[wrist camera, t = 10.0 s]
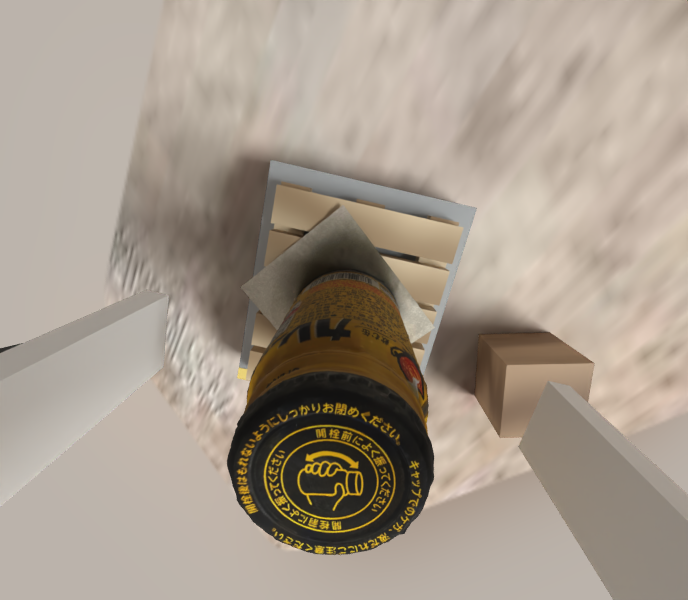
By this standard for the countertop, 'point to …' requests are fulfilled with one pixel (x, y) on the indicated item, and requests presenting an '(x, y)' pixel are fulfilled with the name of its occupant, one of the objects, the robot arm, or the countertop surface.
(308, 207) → the pallet
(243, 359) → the dock
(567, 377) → the brown cube
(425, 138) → the countertop surface
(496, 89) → the countertop surface
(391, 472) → the condiment
